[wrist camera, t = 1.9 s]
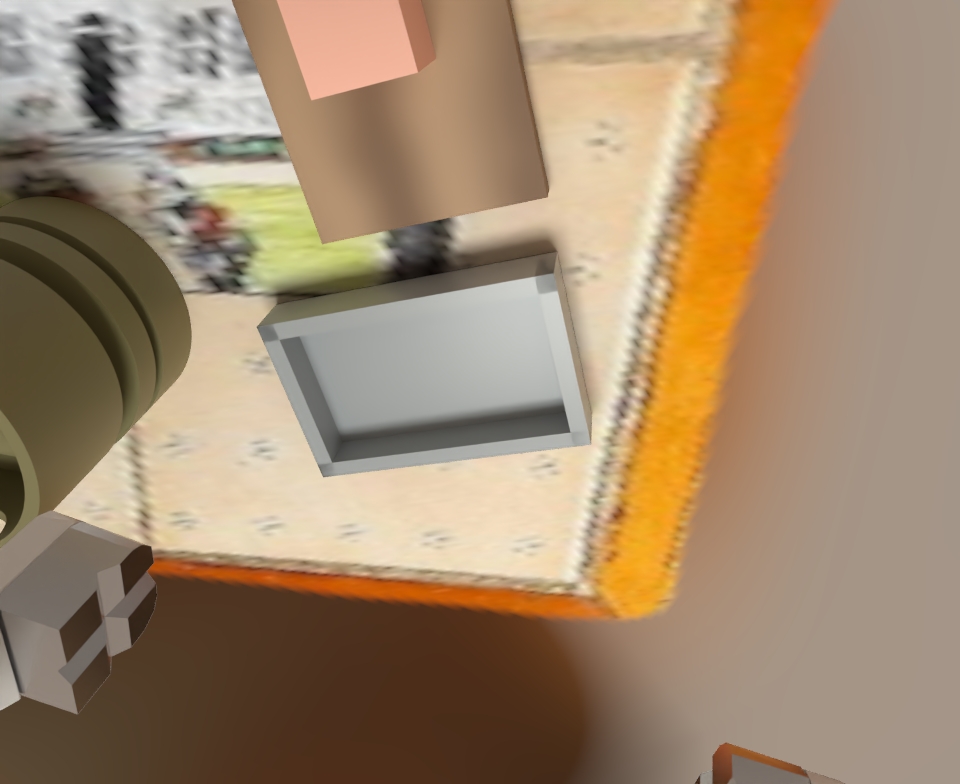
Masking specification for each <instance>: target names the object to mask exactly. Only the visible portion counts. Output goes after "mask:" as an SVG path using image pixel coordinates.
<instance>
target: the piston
mask: <svg viewBox="0 0 960 784" xmlns="http://www.w3.org/2000/svg"><path fill="white" fill-rule="evenodd" d="M190 349H191V323H190V317H189V313H188V309H187V306H186V303H185V300H184V297H183V295H182V293H181V290H180V288H179V286H178V284H177V282H176V281H175V279H174V277H173V275H172V274H171V272H170V271H169V269H168V268H167V266H166V265H165V264H164V262H163V261H162V260H161V258H160V257H159V256H158V255H157V254H156V253H155V251H154V250H153V249H152V248H151V247H150V246H149V245H148V244H147V243H146V242H145V241H144V240H143V239H142V238H141V237H139V236H138V235H137V234H136V233H135V232H134V231H132V230H131V229H130V228H128V227H127V226H126V225H124V224H123V223H121V222H120V221H118V220H117V219H115V218H113V217H112V216H110V215H108V214H106V213H104V212H103V211H100V210H98V209H96V208H94V207H91V206H89V205H86V204H84V203H81V202H77V201H74V200H70V199H65V198H59V197H50V196H38V197H28V198H23V199H19V200H16V201H13V202H11V203H9V204H6V205H4V206H2V207H0V519H2V520H3V521H5V522H6V525H5V527H4V529H3V530H2V532H1V533H0V548H1V547H2V546H4V545H5V544H6V543H7V542H8V541H9V540H10V539H11V538H13V537H14V536H15V535H16V534H17V533H18V532H19V531H21V530H22V529H23V528H24V527H25V526H26V525H27V524H28V523H30V522H31V521H32V520H33V519H34V518H35V517H37V516H39V515H41V514H43V513H46V512H48V511H53V510H54V509H55V508H56V507H57V506H58V505H59V503H60V502H61V501H62V500H63V499H64V498H65V497H66V496H67V495H68V494H69V493H70V492H71V491H72V490H73V489H74V488H75V487H76V486H77V484H78V483H79V482H80V481H81V480H82V479H83V478H84V477H85V476H86V475H87V474H88V473H89V472H90V471H91V470H92V469H93V468H94V467H95V465H96V464H97V463H98V462H99V461H100V460H101V459H102V458H103V457H104V456H105V455H106V454H107V453H108V452H109V450H110V449H111V448H112V446H113V445H114V444H115V443H116V442H118V441H119V440H120V439H121V438H122V437H123V436H124V435H125V434H126V433H127V432H128V431H129V430H130V429H131V427H132V426H133V425H134V424H135V423H136V422H137V421H138V420H139V419H140V418H141V417H142V416H143V415H144V414H145V413H146V412H147V411H148V410H149V409H150V407H151V406H152V405H153V404H154V403H155V402H156V401H157V400H158V399H159V398H160V397H161V396H162V395H163V394H164V393H165V392H166V391H167V390H168V388H169V387H170V386H171V385H172V384H173V383H174V382H175V381H176V380H177V379H178V377H179V376H180V375H181V373H182V372H183V370H184V368H185V366H186V363H187V361H188V357H189V354H190Z"/></svg>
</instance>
